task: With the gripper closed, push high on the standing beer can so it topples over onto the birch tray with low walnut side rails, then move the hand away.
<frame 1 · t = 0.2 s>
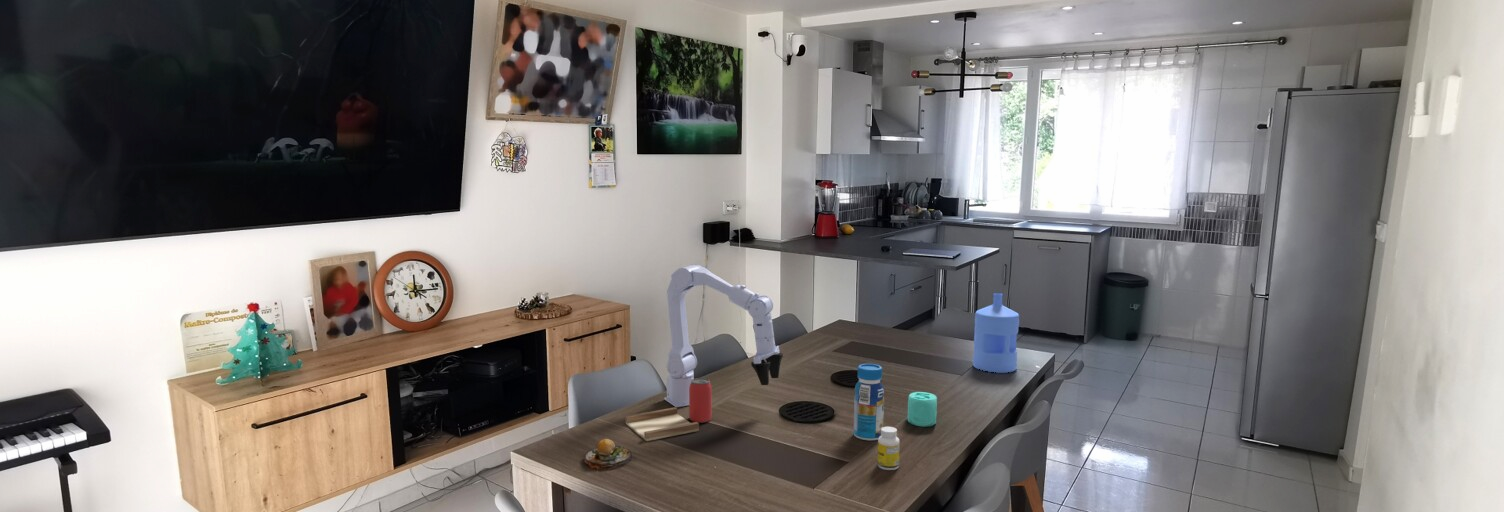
hand: (770, 381, 226), 10 cm above the table, tool pointing down, fingers open, 7 cm apart
food on plate: (607, 461, 193), on the table
water jug: (994, 368, 280), on the table
beverage bottle: (868, 436, 210), on the table
birch tray: (661, 427, 217), on the table
turquoise short cylinder: (921, 422, 222), on the table
supplement bottle: (888, 467, 190), on the table
beer can: (700, 420, 223), on the table
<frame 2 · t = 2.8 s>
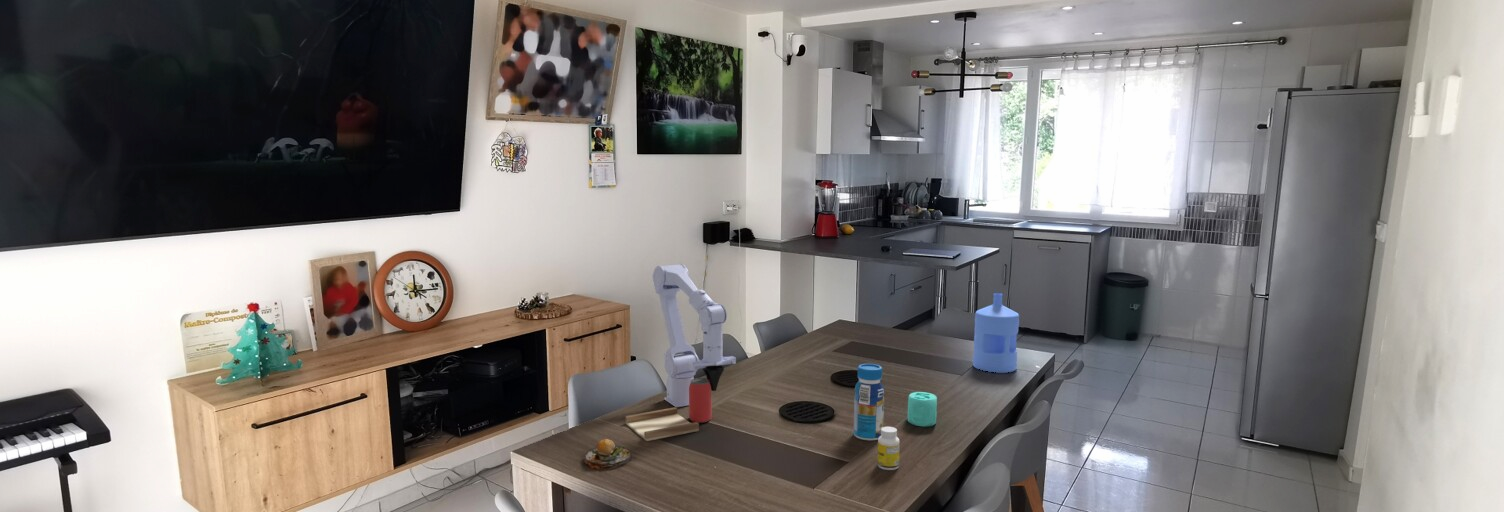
hand: (713, 390, 224), 8 cm above the table, tool pointing down, fingers closed
beer can: (700, 420, 223), on the table, touching gripper
everything else where it was.
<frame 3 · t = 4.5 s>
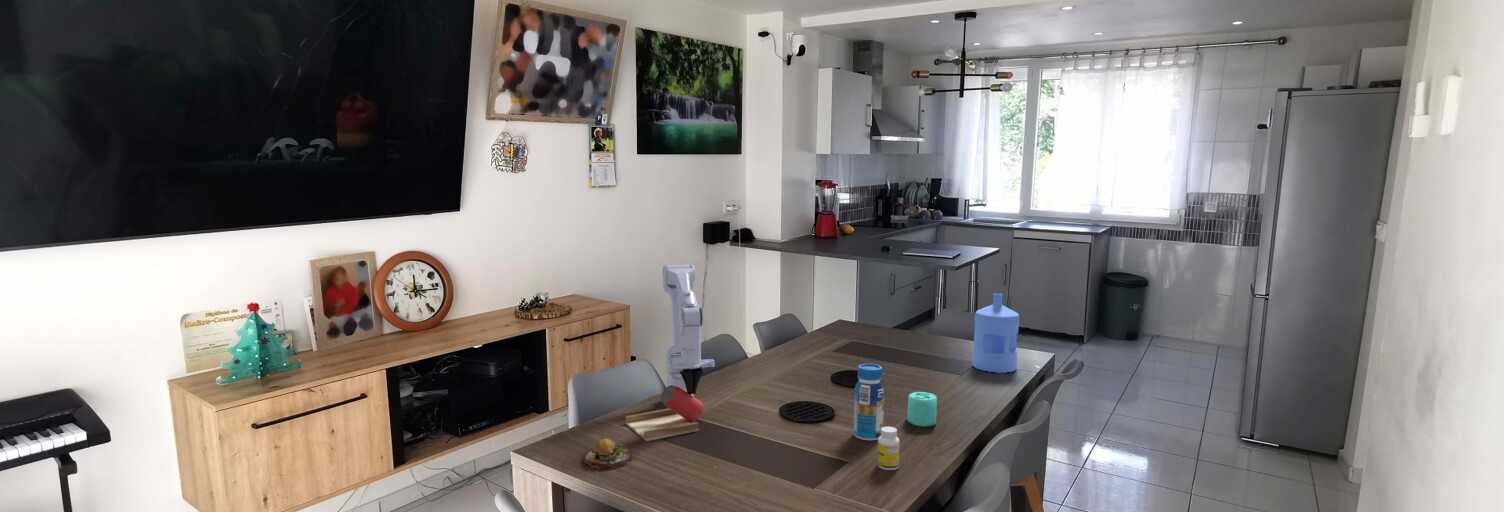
hand: (691, 393, 220), 9 cm above the table, tool pointing down, fingers closed
beer can: (697, 412, 222), point 2 cm above the table, touching gripper
everything else where it was.
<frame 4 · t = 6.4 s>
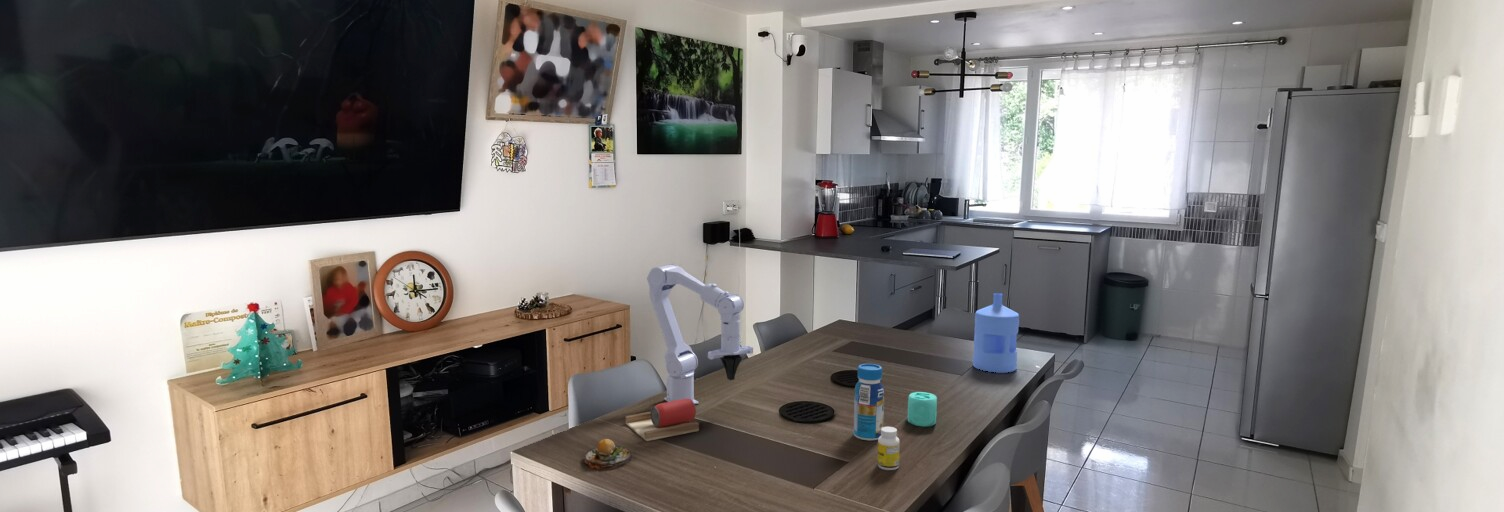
hand: (730, 379, 228), 10 cm above the table, tool pointing down, fingers closed
beer can: (692, 409, 221), point 4 cm above the table, touching birch tray
everything else where it was.
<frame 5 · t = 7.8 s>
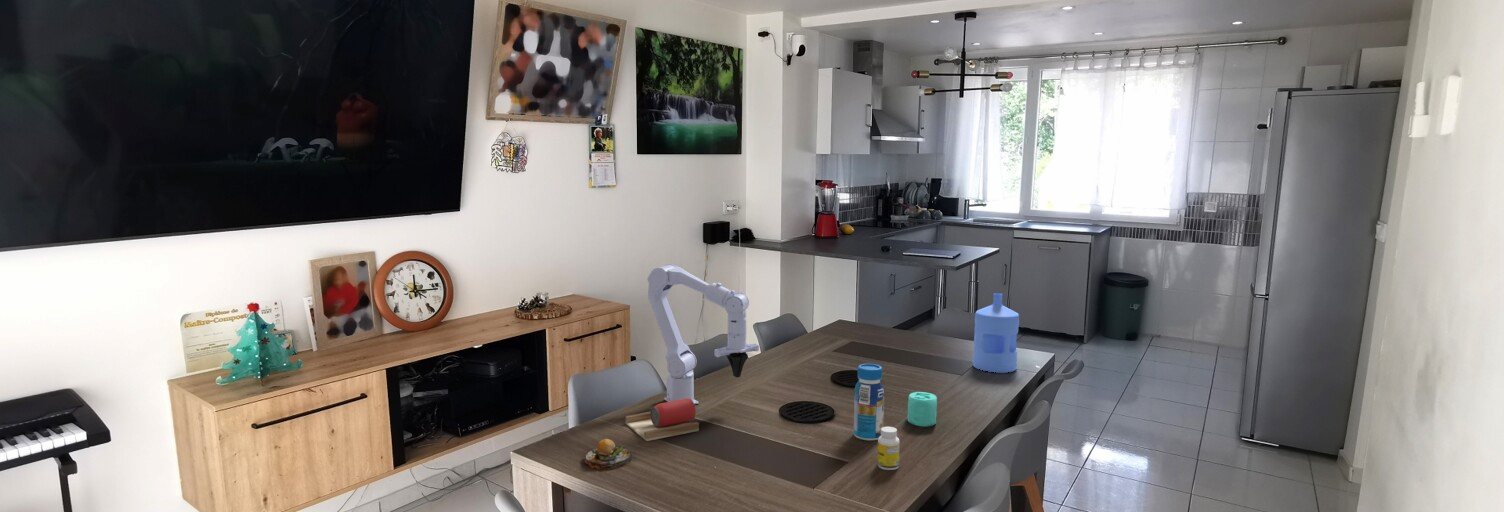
hand: (736, 376, 231), 10 cm above the table, tool pointing down, fingers closed
nothing on the table moved.
at the end: beer can tilted 90°; beer can inside the target area (8.9 cm from its centre), point 3.9 cm above the table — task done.
